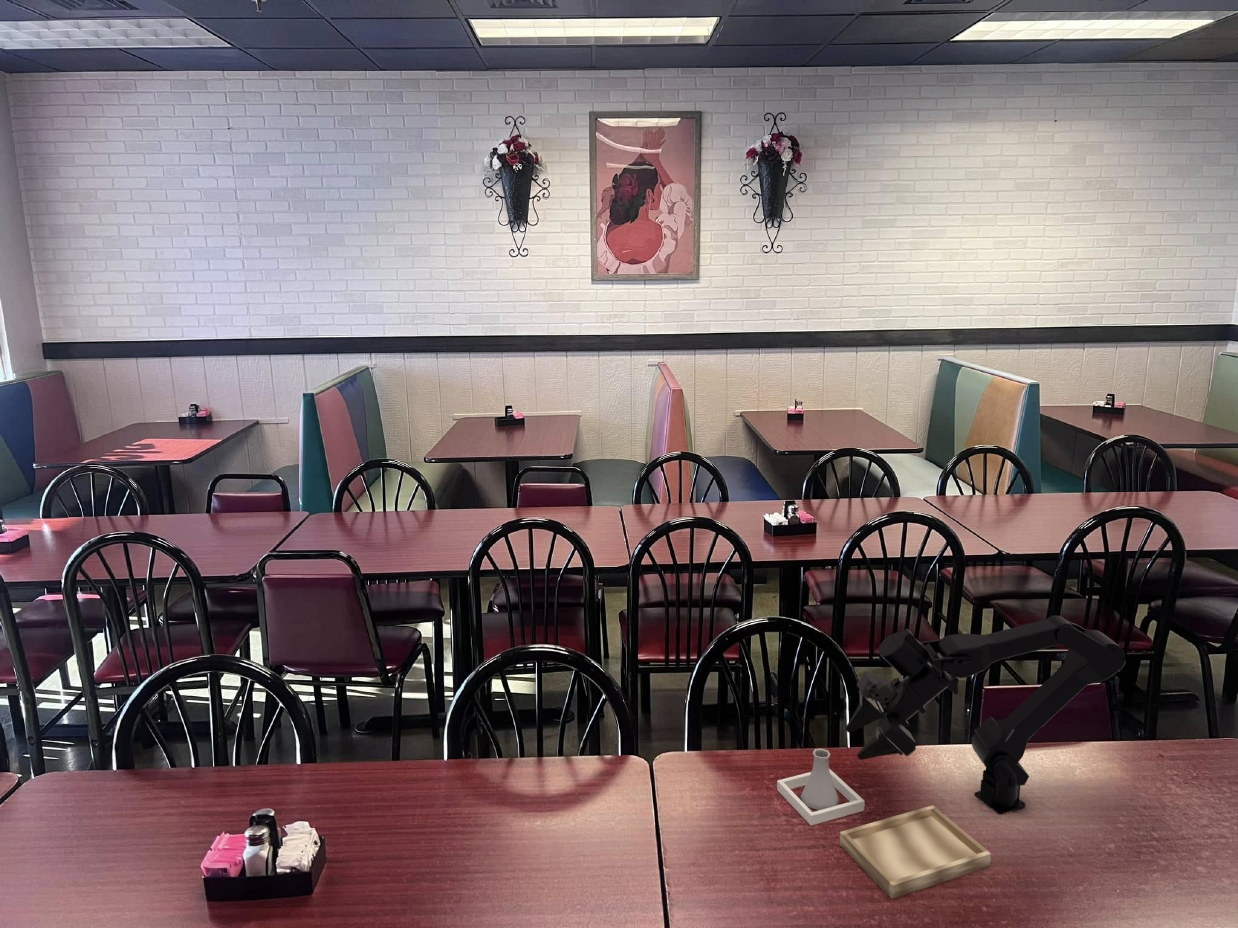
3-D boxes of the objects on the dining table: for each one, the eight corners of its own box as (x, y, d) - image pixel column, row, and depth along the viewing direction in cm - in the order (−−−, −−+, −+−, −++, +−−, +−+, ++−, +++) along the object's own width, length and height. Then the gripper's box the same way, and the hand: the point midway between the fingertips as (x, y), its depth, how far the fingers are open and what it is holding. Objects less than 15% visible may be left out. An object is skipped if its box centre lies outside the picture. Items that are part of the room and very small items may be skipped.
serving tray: (931, 817, 151) (932, 805, 151) (989, 866, 138) (991, 853, 138) (839, 844, 144) (840, 831, 144) (891, 898, 131) (892, 885, 131)
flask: (840, 814, 152) (842, 765, 150) (800, 809, 154) (802, 761, 152) (838, 790, 159) (840, 744, 157) (800, 786, 161) (801, 740, 159)
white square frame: (827, 776, 164) (828, 767, 163) (864, 810, 153) (864, 800, 153) (777, 789, 160) (777, 780, 160) (810, 825, 149) (811, 815, 149)
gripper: (873, 639, 159) (813, 691, 162) (901, 686, 141) (833, 743, 144) (912, 677, 160) (851, 727, 163) (945, 728, 142) (876, 784, 145)
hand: (852, 743), depth 154 cm, fingers open, 9 cm apart
